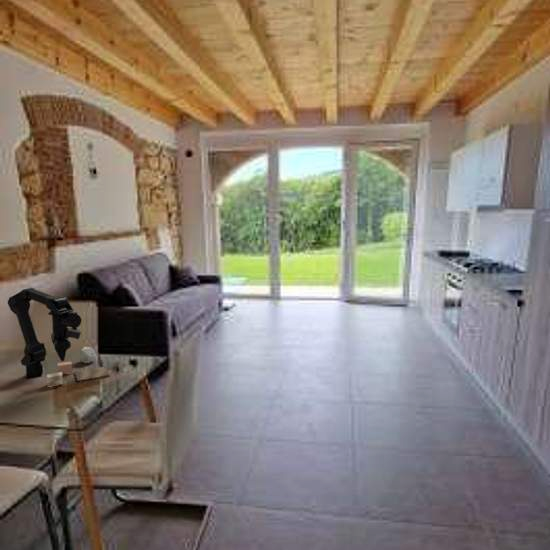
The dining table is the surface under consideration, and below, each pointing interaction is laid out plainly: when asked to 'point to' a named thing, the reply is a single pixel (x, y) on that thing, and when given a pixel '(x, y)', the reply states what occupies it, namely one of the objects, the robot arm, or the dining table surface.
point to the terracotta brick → (65, 367)
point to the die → (86, 355)
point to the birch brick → (54, 379)
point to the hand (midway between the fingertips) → (61, 357)
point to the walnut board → (92, 373)
